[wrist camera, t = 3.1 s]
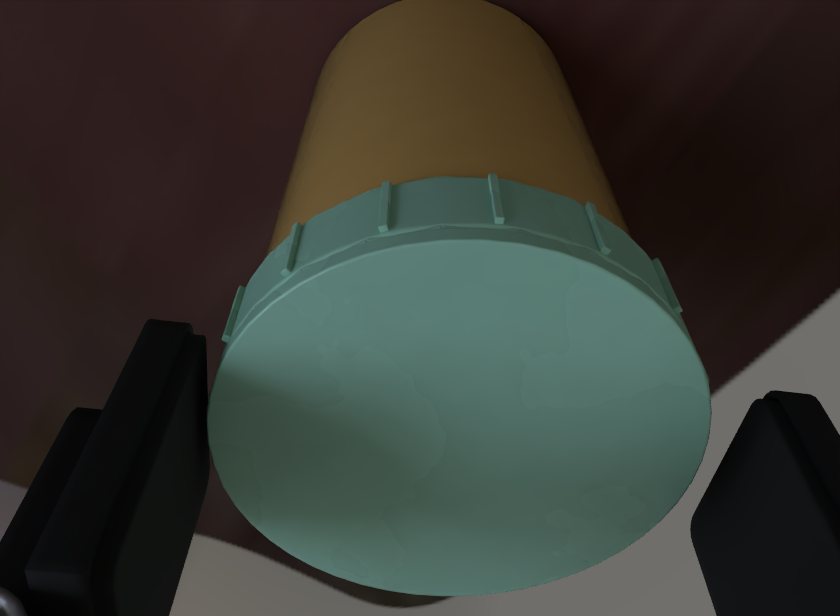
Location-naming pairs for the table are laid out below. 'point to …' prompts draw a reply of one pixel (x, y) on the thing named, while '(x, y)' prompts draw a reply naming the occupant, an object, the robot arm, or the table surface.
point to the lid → (457, 390)
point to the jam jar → (441, 112)
